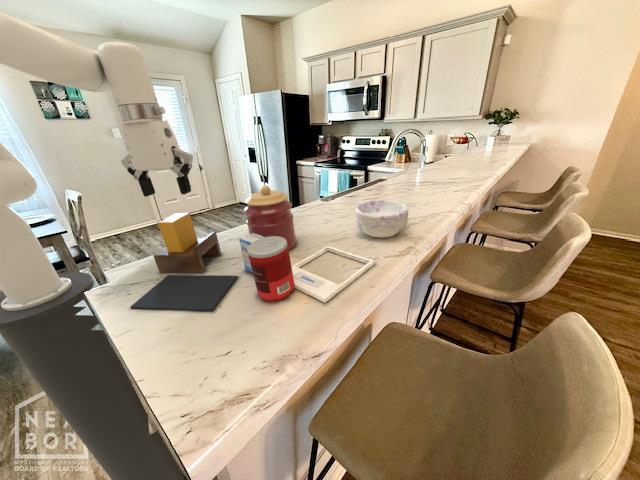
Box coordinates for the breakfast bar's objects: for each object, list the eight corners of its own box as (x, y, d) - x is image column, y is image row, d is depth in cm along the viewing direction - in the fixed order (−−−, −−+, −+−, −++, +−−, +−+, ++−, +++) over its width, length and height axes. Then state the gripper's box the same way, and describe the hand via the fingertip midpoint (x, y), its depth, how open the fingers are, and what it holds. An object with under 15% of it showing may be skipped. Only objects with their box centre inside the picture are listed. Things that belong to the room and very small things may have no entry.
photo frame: (276, 274, 60) (327, 245, 71) (276, 278, 60) (327, 248, 72) (324, 298, 50) (374, 260, 62) (325, 302, 51) (374, 264, 63)
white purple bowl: (392, 247, 70) (393, 219, 67) (345, 235, 80) (344, 210, 76) (415, 228, 81) (417, 203, 77) (371, 219, 90) (372, 197, 87)
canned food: (298, 279, 59) (291, 235, 54) (289, 303, 52) (279, 255, 47) (266, 279, 60) (256, 236, 55) (252, 302, 53) (240, 255, 48)
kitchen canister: (284, 233, 85) (276, 178, 77) (305, 246, 75) (298, 184, 67) (245, 245, 78) (232, 186, 71) (262, 261, 68) (249, 195, 61)
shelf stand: (159, 272, 67) (150, 248, 64) (182, 254, 76) (175, 232, 73) (203, 272, 65) (195, 247, 62) (221, 254, 74) (215, 231, 71)
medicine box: (245, 270, 65) (238, 238, 61) (259, 262, 68) (253, 231, 64) (265, 280, 60) (258, 246, 56) (279, 271, 63) (274, 239, 59)
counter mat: (131, 309, 54) (129, 306, 54) (168, 277, 65) (167, 275, 64) (212, 311, 51) (212, 309, 51) (237, 277, 62) (237, 275, 62)
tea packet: (167, 252, 66) (157, 222, 62) (184, 240, 72) (175, 212, 69) (182, 252, 65) (172, 222, 62) (197, 240, 72) (189, 212, 68)
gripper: (189, 111, 58) (209, 188, 65) (120, 118, 60) (147, 191, 68) (166, 111, 51) (192, 196, 58) (90, 119, 54) (124, 200, 61)
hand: (168, 194), depth 63 cm, fingers open, 9 cm apart
